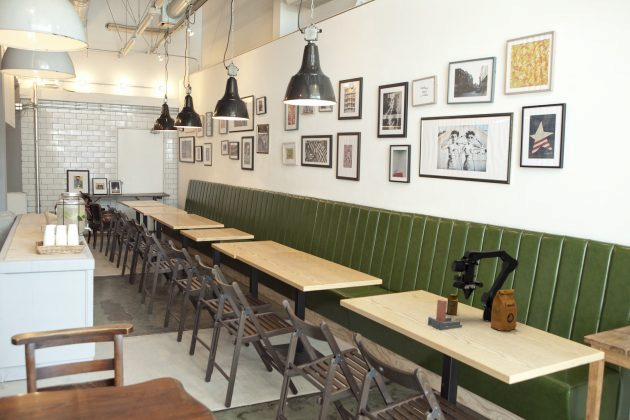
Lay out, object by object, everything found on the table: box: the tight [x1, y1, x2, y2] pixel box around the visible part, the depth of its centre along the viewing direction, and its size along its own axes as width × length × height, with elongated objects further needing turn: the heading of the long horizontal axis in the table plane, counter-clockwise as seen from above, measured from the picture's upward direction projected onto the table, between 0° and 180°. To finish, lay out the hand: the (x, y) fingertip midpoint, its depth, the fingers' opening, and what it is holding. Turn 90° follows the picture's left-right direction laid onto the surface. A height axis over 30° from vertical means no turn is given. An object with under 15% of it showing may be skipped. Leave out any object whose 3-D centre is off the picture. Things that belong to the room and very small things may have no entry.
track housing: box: [427, 316, 463, 331], centre depth 291 cm, size 15×10×4 cm
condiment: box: [446, 293, 461, 318], centre depth 315 cm, size 7×8×12 cm
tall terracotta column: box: [435, 298, 448, 323], centre depth 289 cm, size 3×5×13 cm, turn 28°
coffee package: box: [490, 289, 518, 331], centre depth 290 cm, size 10×12×22 cm
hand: (466, 299), depth 303 cm, fingers closed
